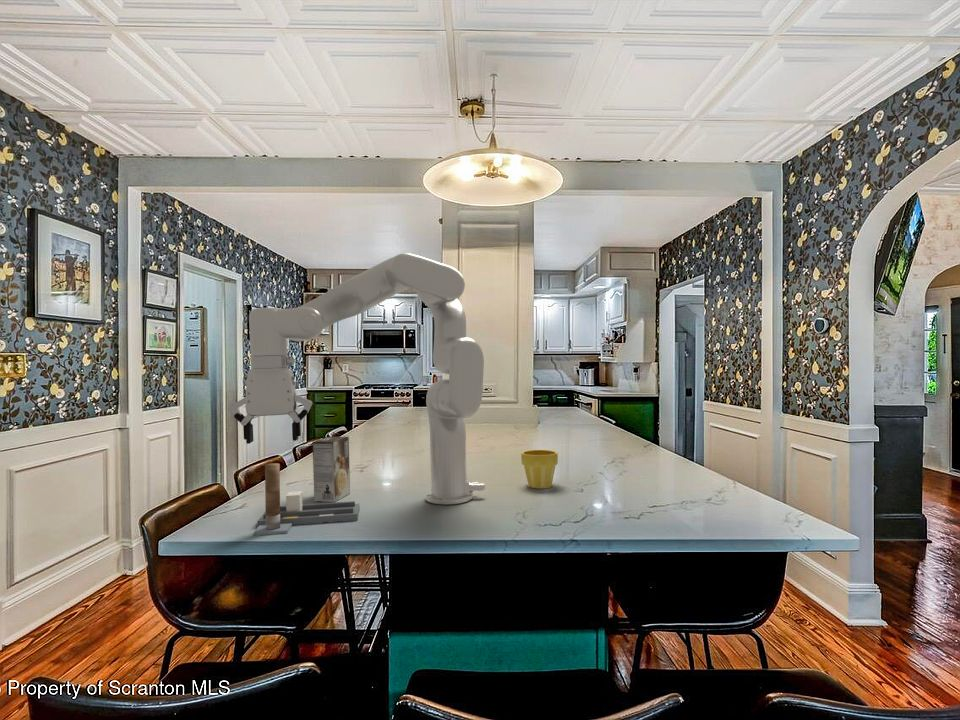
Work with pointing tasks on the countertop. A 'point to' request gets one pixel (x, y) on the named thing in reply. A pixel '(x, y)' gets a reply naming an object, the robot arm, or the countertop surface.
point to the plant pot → (539, 467)
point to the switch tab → (294, 501)
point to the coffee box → (331, 468)
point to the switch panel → (318, 513)
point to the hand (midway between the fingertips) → (273, 441)
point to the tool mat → (283, 529)
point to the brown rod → (272, 495)
